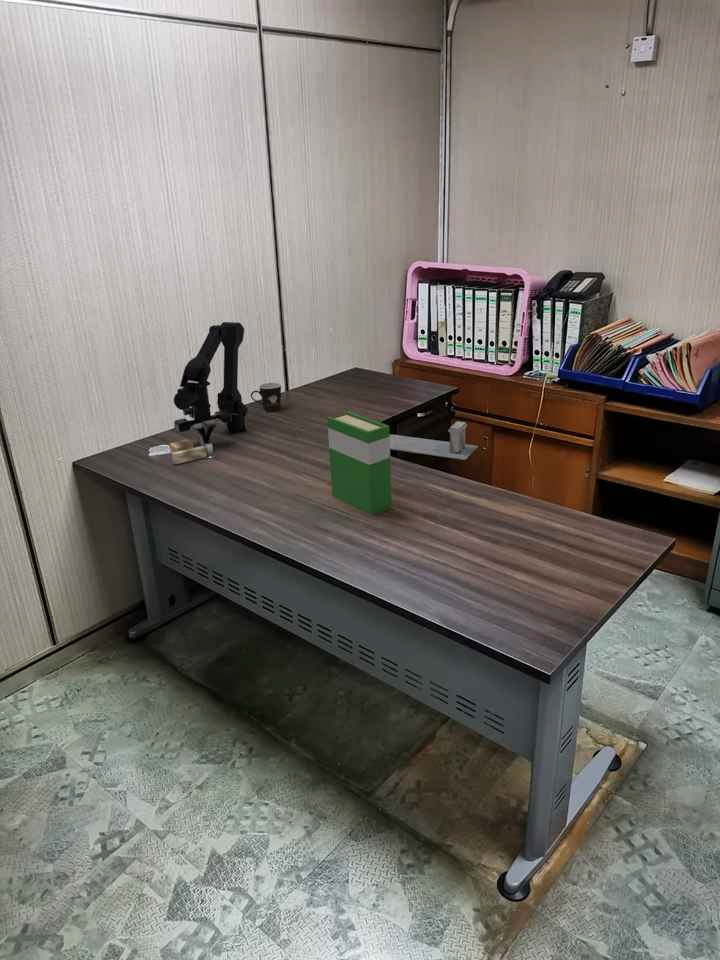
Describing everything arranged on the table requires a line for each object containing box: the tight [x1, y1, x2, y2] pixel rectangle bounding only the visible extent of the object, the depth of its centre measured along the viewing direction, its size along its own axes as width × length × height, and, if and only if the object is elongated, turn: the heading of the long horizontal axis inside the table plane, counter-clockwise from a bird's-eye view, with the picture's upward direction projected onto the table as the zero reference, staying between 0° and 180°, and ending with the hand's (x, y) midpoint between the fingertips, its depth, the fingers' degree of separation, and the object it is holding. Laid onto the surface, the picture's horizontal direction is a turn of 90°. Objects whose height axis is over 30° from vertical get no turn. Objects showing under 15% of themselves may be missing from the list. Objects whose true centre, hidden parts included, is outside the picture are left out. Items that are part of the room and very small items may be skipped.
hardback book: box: [326, 411, 392, 516], centre depth 194 cm, size 18×7×24 cm, turn 39°
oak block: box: [169, 439, 195, 453], centre depth 238 cm, size 6×6×4 cm
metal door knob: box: [204, 442, 217, 459], centre depth 235 cm, size 4×4×4 cm
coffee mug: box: [250, 382, 282, 413], centre depth 277 cm, size 12×9×10 cm
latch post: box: [198, 433, 205, 447], centre depth 245 cm, size 2×2×4 cm
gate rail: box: [171, 445, 207, 465], centre depth 232 cm, size 11×2×4 cm, turn 121°
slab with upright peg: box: [390, 420, 479, 461], centre depth 234 cm, size 12×33×10 cm, turn 63°
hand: (206, 444), depth 242 cm, fingers closed
